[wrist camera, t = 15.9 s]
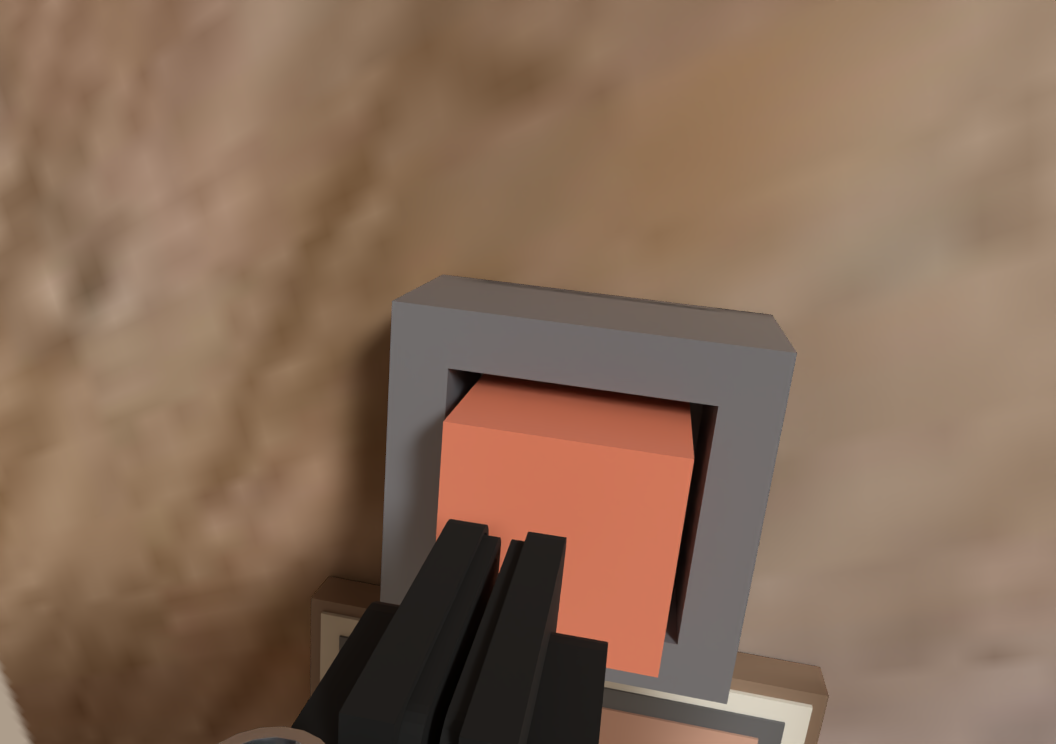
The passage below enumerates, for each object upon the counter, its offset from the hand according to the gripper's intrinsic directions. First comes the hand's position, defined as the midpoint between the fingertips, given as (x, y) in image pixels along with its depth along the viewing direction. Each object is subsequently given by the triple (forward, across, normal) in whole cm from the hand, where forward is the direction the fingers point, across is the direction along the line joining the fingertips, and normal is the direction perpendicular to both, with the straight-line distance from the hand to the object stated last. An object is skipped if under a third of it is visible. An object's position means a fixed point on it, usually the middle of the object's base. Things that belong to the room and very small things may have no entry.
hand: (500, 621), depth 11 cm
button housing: (+7, -1, 0) cm, 7 cm away
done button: (+5, -1, 0) cm, 5 cm away
